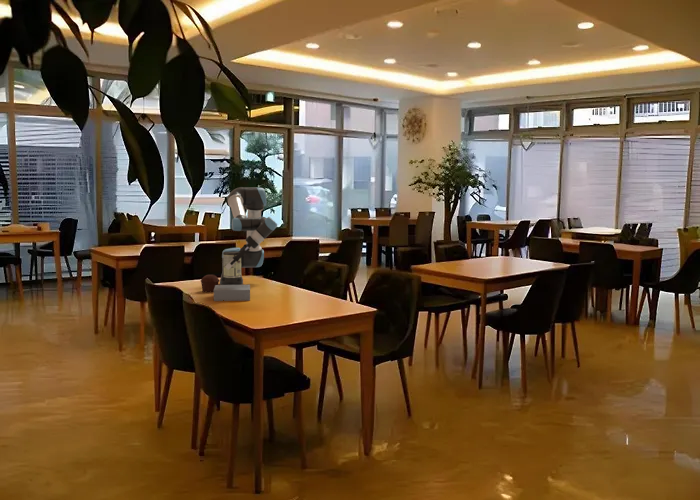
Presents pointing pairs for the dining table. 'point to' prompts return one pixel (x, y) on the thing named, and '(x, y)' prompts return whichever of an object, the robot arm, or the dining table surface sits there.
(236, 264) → the coffee can
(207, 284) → the muffin
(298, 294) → the dining table surface
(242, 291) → the grey block
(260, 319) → the dining table surface
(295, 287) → the dining table surface
